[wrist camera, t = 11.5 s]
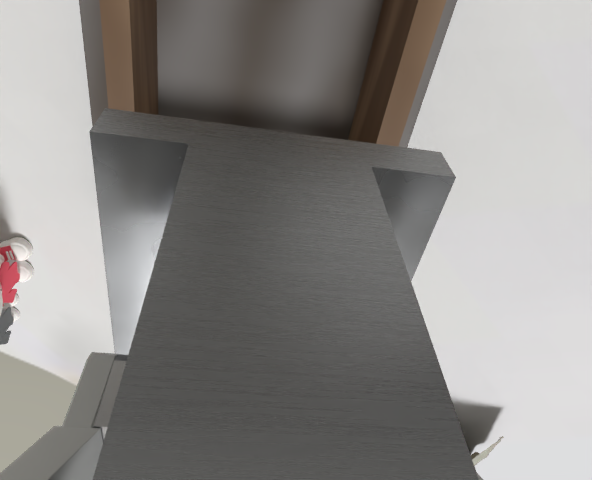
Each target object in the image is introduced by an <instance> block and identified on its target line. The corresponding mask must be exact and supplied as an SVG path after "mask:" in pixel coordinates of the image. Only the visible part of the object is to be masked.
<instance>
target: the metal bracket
mask: <svg viewBox="0 0 592 480" xmlns="http://www.w3.org/2000/svg"><path fill="white" fill-rule="evenodd" d="M90 139H91V147H92V156H93V165H94V174H95V183H96V191H97V200H98V209H99V218H100V227H101V235H102V244H103V253H104V262H105V271H106V279H107V288H108V297H109V306H110V314H111V323H112V332H113V341H114V350H115V354H122V355H128V358H127V361H126V365H125V368H124V372H123V375H122V379H121V382H120V386H119V389H118V393H117V396H116V400H115V403H114V407H113V410H112V413H111V417H110V420H109V424H108V427H107V431H106V434H105V438H104V441H103V445H102V448H101V452H100V455H99V459H98V462H97V466H96V469H95V473H94V476H93V480H479V479H478V476H477V473H476V470H475V467H474V464H473V461H472V458H471V455H470V452H469V450H468V447H467V444H466V441H465V438H464V435H463V432H462V429H461V426H460V423H459V420H458V417H457V415H456V412H455V409H454V406H453V403H452V400H451V397H450V394H449V391H448V388H447V385H446V382H445V380H444V377H443V374H442V371H441V368H440V365H439V362H438V359H437V356H436V353H435V350H434V348H433V345H432V342H431V339H430V336H429V333H428V330H427V327H426V324H425V321H424V318H423V315H422V313H421V310H420V307H419V304H418V301H417V298H416V295H415V292H414V289H413V286H412V283H411V280H412V278H413V276H414V273H415V271H416V269H417V266H418V264H419V262H420V259H421V257H422V255H423V252H424V250H425V248H426V245H427V243H428V241H429V238H430V236H431V234H432V231H433V229H434V227H435V224H436V222H437V220H438V218H439V215H440V213H441V211H442V208H443V206H444V204H445V201H446V199H447V197H448V194H449V192H450V190H451V187H452V185H453V183H454V180H455V178H456V177H455V175H454V173H453V172H452V170H451V168H450V167H449V165H448V163H447V162H446V160H445V158H444V157H443V155H442V153H441V152H435V151H427V150H420V149H412V148H405V147H397V146H390V145H382V144H374V143H367V142H359V141H352V140H344V139H337V138H329V137H321V136H314V135H306V134H299V133H291V132H284V131H276V130H268V129H261V128H253V127H246V126H238V125H231V124H223V123H216V122H208V121H200V120H193V119H185V118H178V117H170V116H163V115H155V114H147V113H140V112H132V111H125V110H117V109H110V108H105V109H104V111H103V112H102V114H101V115H100V117H99V118H98V120H97V121H96V123H95V124H94V126H93V127H92V129H91V130H90Z"/></svg>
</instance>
